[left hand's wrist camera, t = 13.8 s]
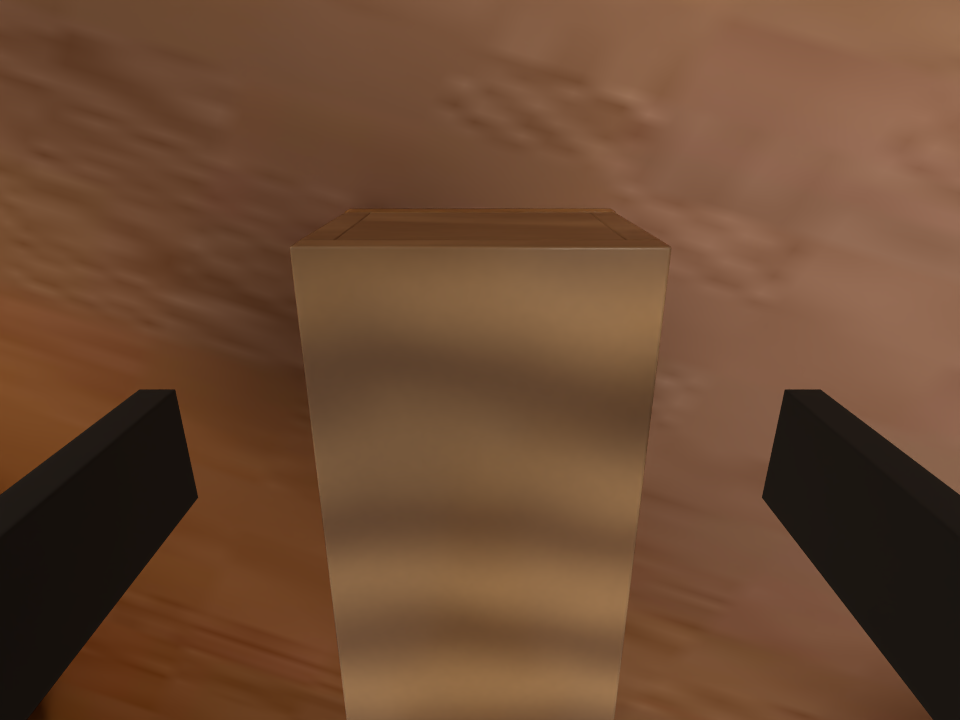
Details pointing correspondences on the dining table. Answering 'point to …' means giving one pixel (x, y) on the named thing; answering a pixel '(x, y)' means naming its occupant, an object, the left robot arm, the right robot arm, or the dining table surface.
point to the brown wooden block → (480, 451)
